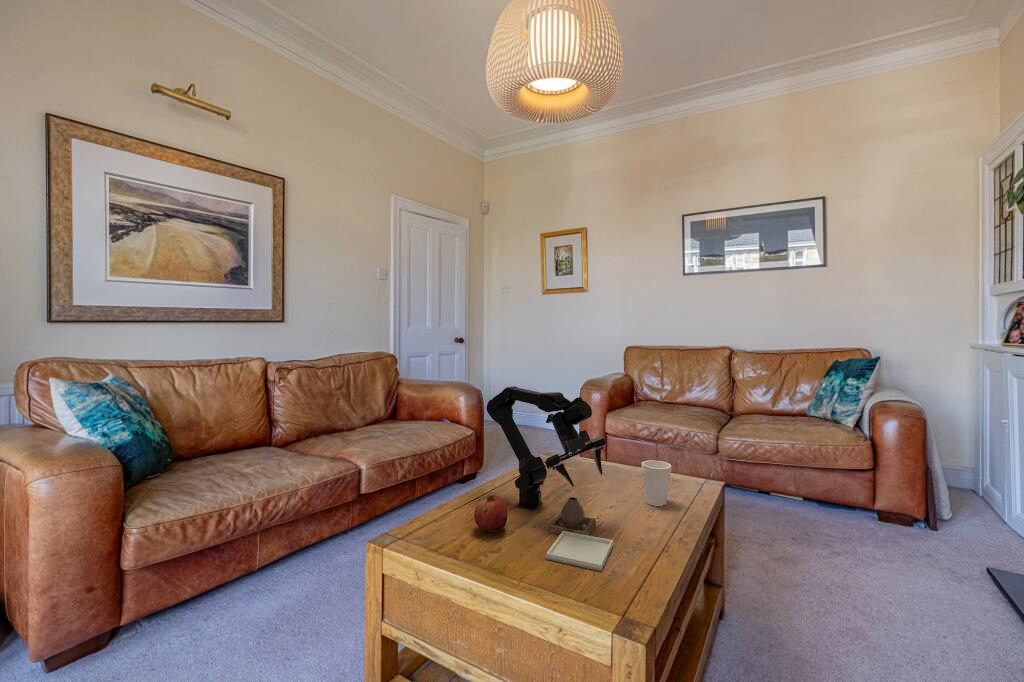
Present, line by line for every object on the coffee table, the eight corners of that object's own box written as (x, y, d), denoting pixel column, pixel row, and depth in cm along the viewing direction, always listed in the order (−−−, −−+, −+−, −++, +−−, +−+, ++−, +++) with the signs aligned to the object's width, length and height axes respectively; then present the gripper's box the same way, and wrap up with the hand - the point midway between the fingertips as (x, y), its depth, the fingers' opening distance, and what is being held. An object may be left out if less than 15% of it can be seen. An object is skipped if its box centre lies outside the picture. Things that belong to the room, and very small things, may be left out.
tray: (546, 559, 114) (546, 553, 114) (563, 536, 127) (563, 530, 126) (601, 571, 108) (601, 565, 108) (613, 545, 121) (613, 540, 121)
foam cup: (639, 505, 148) (640, 466, 148) (642, 496, 157) (643, 459, 157) (670, 510, 145) (670, 470, 144) (671, 500, 153) (672, 462, 153)
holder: (548, 532, 129) (548, 526, 129) (560, 517, 139) (560, 511, 139) (586, 539, 124) (586, 533, 124) (595, 524, 134) (595, 518, 134)
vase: (584, 534, 128) (584, 503, 127) (559, 532, 129) (559, 502, 129) (585, 524, 134) (585, 495, 134) (561, 522, 136) (562, 493, 135)
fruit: (501, 541, 124) (501, 505, 123) (468, 535, 127) (468, 500, 126) (513, 525, 134) (513, 491, 133) (482, 520, 137) (482, 488, 137)
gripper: (539, 437, 129) (561, 491, 124) (598, 414, 132) (622, 465, 126) (537, 443, 139) (557, 493, 134) (591, 421, 142) (613, 469, 137)
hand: (587, 480), depth 132 cm, fingers open, 9 cm apart
